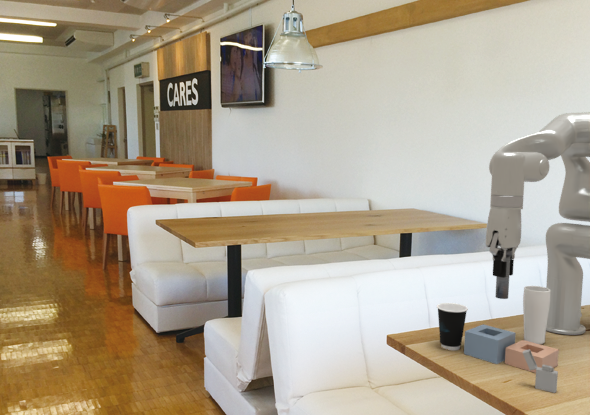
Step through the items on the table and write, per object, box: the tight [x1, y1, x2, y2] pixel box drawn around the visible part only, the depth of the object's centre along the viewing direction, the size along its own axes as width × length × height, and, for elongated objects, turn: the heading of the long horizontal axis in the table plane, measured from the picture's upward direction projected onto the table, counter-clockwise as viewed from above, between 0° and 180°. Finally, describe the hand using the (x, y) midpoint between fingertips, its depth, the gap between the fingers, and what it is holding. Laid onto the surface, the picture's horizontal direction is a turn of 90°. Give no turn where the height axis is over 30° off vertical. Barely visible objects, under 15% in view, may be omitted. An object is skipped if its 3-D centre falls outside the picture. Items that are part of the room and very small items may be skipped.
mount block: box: [504, 339, 560, 374], centre depth 132 cm, size 9×9×4 cm
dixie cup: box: [436, 302, 469, 351], centre depth 143 cm, size 8×8×11 cm
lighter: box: [523, 349, 559, 394], centre depth 119 cm, size 7×2×8 cm, turn 56°
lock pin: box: [494, 249, 512, 300], centre depth 135 cm, size 4×4×12 cm
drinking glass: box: [522, 285, 551, 345], centre depth 148 cm, size 7×7×15 cm
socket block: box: [463, 324, 516, 365], centre depth 138 cm, size 9×9×6 cm
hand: (502, 274), depth 135 cm, fingers closed on lock pin, 3 cm apart
